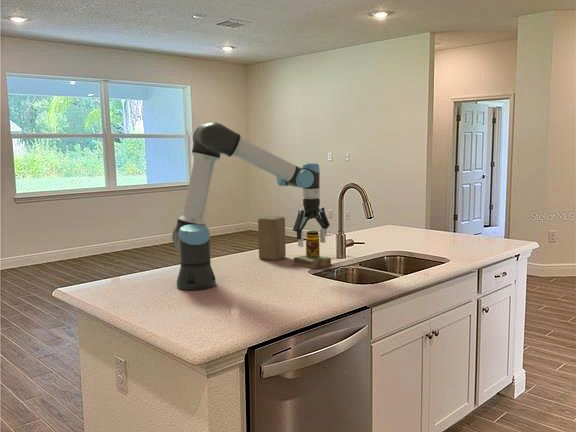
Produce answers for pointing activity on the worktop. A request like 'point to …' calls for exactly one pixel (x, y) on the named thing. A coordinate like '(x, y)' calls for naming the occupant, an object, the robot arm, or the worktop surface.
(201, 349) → the worktop surface
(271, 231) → the wooden block
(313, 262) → the stand
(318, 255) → the condiment
